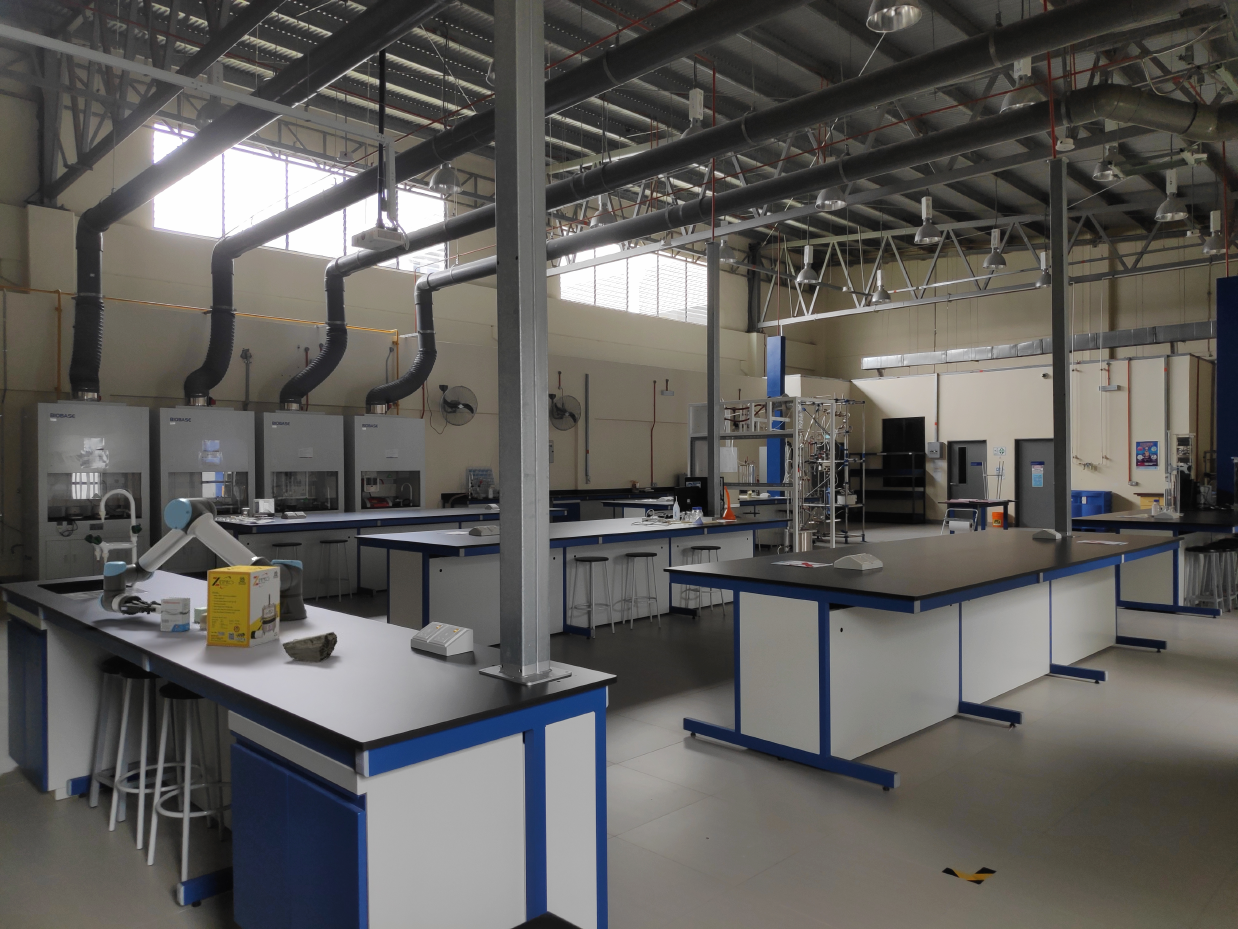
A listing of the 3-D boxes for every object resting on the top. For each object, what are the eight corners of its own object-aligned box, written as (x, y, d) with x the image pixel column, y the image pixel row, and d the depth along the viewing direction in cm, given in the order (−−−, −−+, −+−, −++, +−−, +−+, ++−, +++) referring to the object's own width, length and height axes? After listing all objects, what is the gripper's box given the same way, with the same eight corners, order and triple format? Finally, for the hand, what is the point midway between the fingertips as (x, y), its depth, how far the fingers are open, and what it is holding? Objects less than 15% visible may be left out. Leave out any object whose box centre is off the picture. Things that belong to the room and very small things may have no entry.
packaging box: (238, 635, 287) (239, 565, 288) (279, 638, 284) (280, 566, 284) (206, 645, 271) (207, 570, 272) (249, 647, 268) (250, 572, 268)
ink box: (190, 629, 298) (191, 597, 298) (182, 632, 293) (182, 599, 293) (168, 628, 299) (169, 596, 299) (159, 631, 294) (160, 598, 294)
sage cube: (213, 620, 316) (213, 607, 316) (201, 622, 312) (201, 609, 312) (206, 619, 319) (206, 606, 319) (194, 621, 315) (194, 608, 315)
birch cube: (220, 626, 305) (220, 613, 305) (213, 628, 300) (213, 615, 300) (207, 626, 305) (207, 612, 305) (199, 628, 300) (200, 615, 300)
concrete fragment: (275, 654, 248) (295, 619, 260) (293, 677, 253) (312, 642, 266) (315, 646, 244) (334, 611, 257) (333, 669, 249) (350, 634, 262)
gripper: (144, 611, 318) (179, 617, 306) (110, 616, 306) (144, 623, 294) (145, 592, 318) (180, 597, 306) (110, 596, 306) (145, 602, 294)
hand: (162, 610), depth 300 cm, fingers closed
